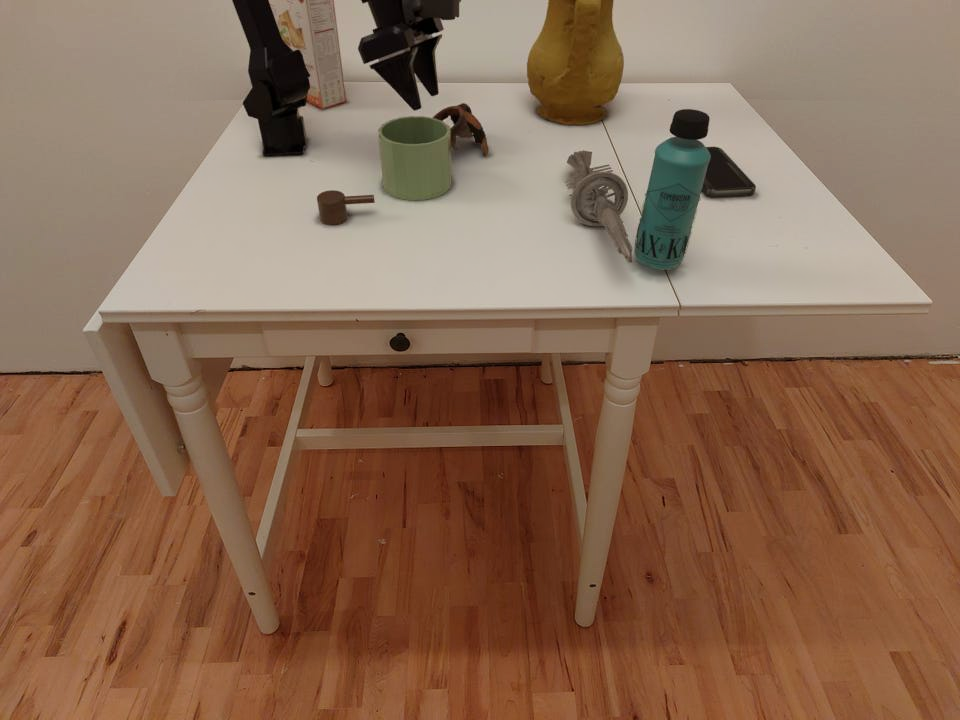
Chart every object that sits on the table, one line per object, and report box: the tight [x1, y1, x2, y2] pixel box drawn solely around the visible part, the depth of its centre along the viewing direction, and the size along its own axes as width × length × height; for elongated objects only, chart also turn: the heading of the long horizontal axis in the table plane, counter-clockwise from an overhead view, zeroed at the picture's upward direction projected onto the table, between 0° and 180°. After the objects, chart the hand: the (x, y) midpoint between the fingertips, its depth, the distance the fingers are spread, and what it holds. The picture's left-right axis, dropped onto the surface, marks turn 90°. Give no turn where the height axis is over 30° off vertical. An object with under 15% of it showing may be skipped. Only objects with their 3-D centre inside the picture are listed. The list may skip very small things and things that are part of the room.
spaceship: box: [564, 150, 633, 264], centre depth 91 cm, size 8×35×8 cm
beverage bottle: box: [633, 108, 711, 270], centre depth 80 cm, size 6×7×20 cm
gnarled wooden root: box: [432, 102, 489, 157], centre depth 110 cm, size 12×10×8 cm
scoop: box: [316, 189, 375, 226], centre depth 93 cm, size 8×4×3 cm, turn 98°
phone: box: [701, 146, 757, 198], centre depth 106 cm, size 8×1×15 cm
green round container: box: [377, 115, 452, 201], centre depth 100 cm, size 10×10×8 cm
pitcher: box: [526, 0, 625, 126], centre depth 116 cm, size 17×19×25 cm
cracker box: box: [269, 0, 347, 110], centre depth 122 cm, size 14×6×21 cm, turn 43°
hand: (426, 102), depth 90 cm, fingers open, 9 cm apart
